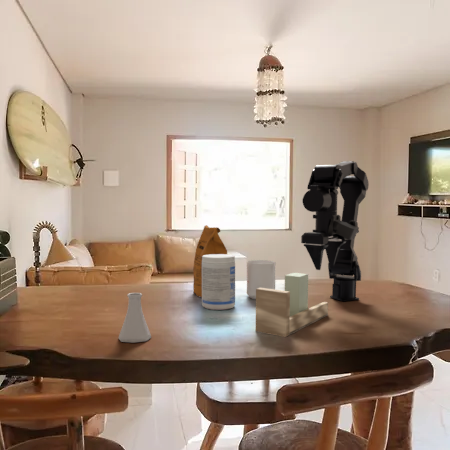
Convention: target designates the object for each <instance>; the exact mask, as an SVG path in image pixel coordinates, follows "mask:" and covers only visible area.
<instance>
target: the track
mask: <svg viewBox="0 0 450 450" xmlns="http://www.w3.org/2000/svg"><path fill="white" fill-rule="evenodd" d="M328 316H329V302H327V301H323V302H320V303H317V304H316V305H313V306H311V307H309V308H308V309H306V310H304V311H302V312H300V313H297V314H295V315H293V316H291V317H290V292H289V291H285V290H282V289H276V288H275V289H267V288H257V289H256V299H255V332H259V333H261V334H262V333H263V334H268V335H269V334H270V335H272V336H273V335H274V336H277V337H283V338H286V337H288V336H290V335H291V334H294V333H296V332H298V331H300V330H302V329H304V328H306V327H308V326H310V325H311V324H312V325H313V323H315V322H318V321H319V320H322V319H323V318H325V317H328Z"/></svg>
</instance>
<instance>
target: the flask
mask: <svg viewBox="0 0 450 450" xmlns="http://www.w3.org/2000/svg"><path fill="white" fill-rule="evenodd" d="M126 296H127V298H128V304H127V311H126V315H125V317H124V320H123V324H122V327H121V329H120V332H119V335H118V340H119V341H120V342H121V343H122V342H123V343H132V344H134V343H141V342H148V341H149V340H150V339H151V338H152V335H151V332H150V328H149V327H148V324H147V321H146V319H145V316H144V312H143V308H142V296H143V294H142V293H141V292H129V293H127V295H126Z"/></svg>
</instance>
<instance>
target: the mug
mask: <svg viewBox="0 0 450 450" xmlns="http://www.w3.org/2000/svg"><path fill="white" fill-rule="evenodd" d="M276 264H277V263H276V261H274V260H268V259H253V260H252V259H251V260H247V261H246V294H247V296H248V298H250V299H252V300H256V289H257V288H267V289H275V290H276Z"/></svg>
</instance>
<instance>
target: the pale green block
mask: <svg viewBox="0 0 450 450" xmlns="http://www.w3.org/2000/svg"><path fill="white" fill-rule="evenodd" d="M284 291H289V292H290V317H291V316H293V315H295V314H297V313H300V312H302V311H304V310H306V309H309V308H308V307H309V274H308V273H303V272H302V273H301V272H291V273H288V274H284Z"/></svg>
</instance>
